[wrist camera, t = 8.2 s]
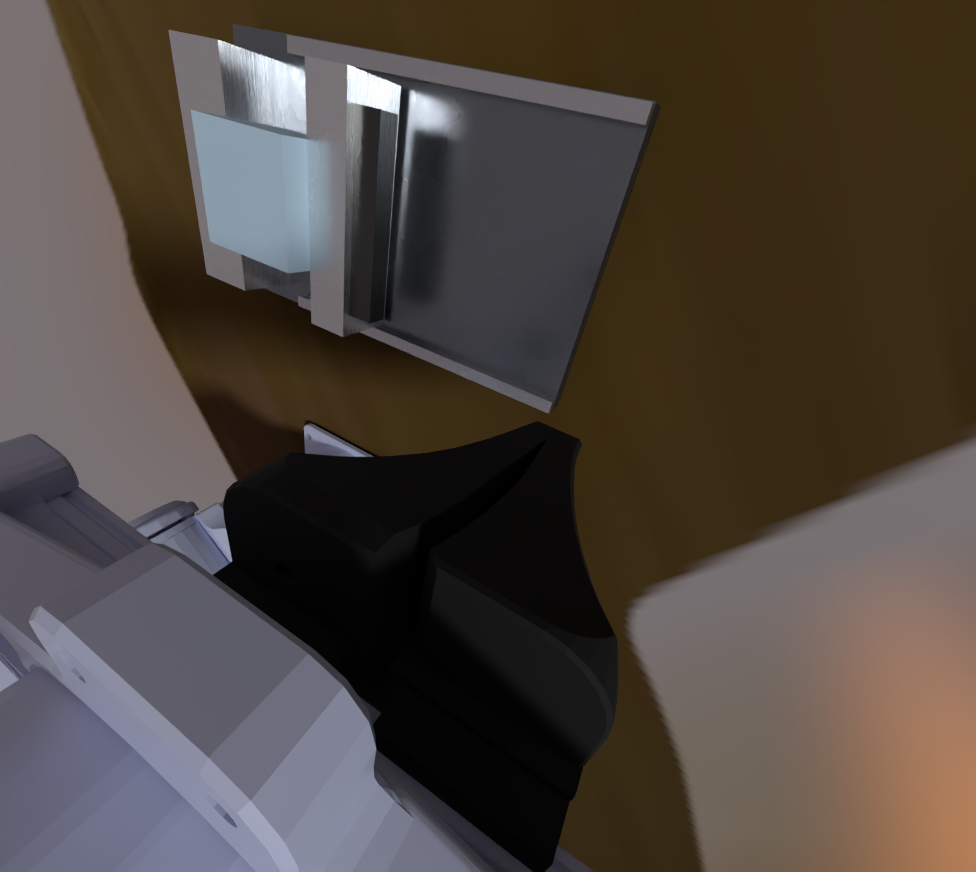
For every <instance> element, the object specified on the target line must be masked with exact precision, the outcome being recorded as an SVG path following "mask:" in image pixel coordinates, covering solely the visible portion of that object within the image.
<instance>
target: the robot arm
mask: <svg viewBox="0 0 976 872" xmlns="http://www.w3.org/2000/svg"><path fill="white" fill-rule="evenodd" d="M304 439H305V453H296V452H291V453H289V454H287V455H285V456H283V457H281V458H279V459H277V460H276V461H274V462H272V463H270V464H268V465H266V466H264V467H263V468H261V469H259V470H257V471H255V472H253V473H251V474H250V475H248V476H246V477H244V478H242V479H240V480H238V481H237V482H235V483H233V484H232V485H231V486H230V487H229V488H228V489H227V491H226V494H225V498H224V501H223V502H221V503H215V504H214V505H212V506H210V507H208V508H206V509H205V510H203V511H201V512H199V513H198V514H196V515H195V514H194V512H196V511H197V510H199V508H198V507H197V506H196V504H195V503H194V502H188V503H186V502H184V501H173V502H170V503H168V504H165V505H163V506H161V507H159V508H157V509H155V510H153V511H150V512H148V513H146V514H144V515H142V516H140V517H138V518H136V519H134V520H133V521H131V522H129V523H126V522H125V521H124V520H122V519H121V518H120V517H118V516H117V515H116V514H114V513H113V512H112V511H110V510H109V509H108V508H106V507H105V506H104V505H102V504H101V503H100V502H98V501H97V500H96V499H94V498H93V497H91V496H90V495H89V494H87V493H86V492H85V491H84V490H82V489H81V488H79V487H78V485H79V482H78V479H77V476H76V474H75V472H74V469H73V468H72V466H71V464H70V463H69V461H68V460H67V459H66V457H64V456H63V455H62V454H61V453H60V452H59V451H58V450H56V449H55V448H53V447H52V446H51V445H49V444H48V443H46V442H45V441H44V440H42V439H41V438H40V437H38V436H37V435H34V434H27V435H24V436H21V437H18V438H14V439H11V440H8V441H5V442H1V443H0V872H594V871H592V870H591V869H590V868H588V867H587V866H586V865H584V864H583V863H582V862H580V861H579V860H578V859H576V858H575V857H573V856H572V855H571V854H569V853H568V852H567V851H565V850H564V849H563V848H561V847H560V846H559V845H558V842H559V838H560V835H561V831H562V827H563V824H564V820H565V816H566V813H567V809H568V805H569V801H570V800H572V799H573V798H574V796H575V794H576V791H577V788H578V784H579V780H580V777H581V773H582V769H583V766H584V765H585V764H586V763H587V761H588V760H589V759H590V758H591V757H592V756H593V754H594V753H595V752H596V751H597V750H598V748H599V747H600V746H601V745H602V744H603V743H604V741H605V740H606V739H607V737H608V735H609V733H610V731H611V729H612V726H613V723H614V718H615V713H616V704H617V692H618V645H617V638H616V636H615V634H614V632H613V630H612V628H611V626H610V624H609V622H608V620H607V618H606V616H605V613H604V611H603V609H602V607H601V605H600V603H599V600H598V597H597V595H596V592H595V590H594V587H593V584H592V582H591V579H590V576H589V572H588V569H587V566H586V563H585V559H584V556H583V553H582V549H581V545H580V540H579V535H578V530H577V524H576V517H575V508H574V470H575V463H576V458H577V456H578V453H579V451H580V448H581V446H582V444H581V442H580V439H577V438H575V437H573V436H570V435H568V434H566V433H564V432H561V431H559V430H557V429H555V428H552V427H550V426H548V425H545V424H543V423H541V422H539V421H537V422H534V423H531V424H528V425H525V426H523V427H520V428H517V429H515V430H512V431H509V432H507V433H504V434H501V435H498V436H495V437H492V438H489V439H486V440H482V441H479V442H475V443H472V444H468V445H464V446H461V447H456V448H452V449H447V450H441V451H435V452H429V453H421V454H410V455H398V456H381V457H374V456H372V455H370V454H368V453H366V452H364V451H362V450H360V449H359V448H357V447H355V446H353V445H351V444H349V443H347V442H345V441H344V440H342V439H340V438H338V437H336V436H334V435H332V434H330V433H329V432H327V431H325V430H323V429H321V428H319V427H317V426H315V425H313V424H311V423H309V424H307V425H305V426H304Z"/></svg>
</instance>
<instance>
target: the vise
mask: <svg viewBox="0 0 976 872" xmlns="http://www.w3.org/2000/svg"><path fill="white" fill-rule="evenodd" d="M232 26H233V36H234V45H231V44H229V43H226V42H223V41H220V40H217V39H212V38H207V37H202V36H197V35H192V34H187V33H182V32H177V31H172V30H169V36H170V43H171V49H172V55H173V62H174V68H175V75H176V81H177V87H178V94H179V100H180V106H181V113H182V119H183V126H184V132H185V138H186V145H187V151H188V158H189V164H190V170H191V177H192V183H193V189H194V196H195V202H196V209H197V215H198V221H199V228H200V234H201V240H202V247H203V253H204V260H205V266H206V272H207V274H208V275H210V276H212V277H215V278H217V279H219V280H222V281H224V282H226V283H228V284H231V285H233V286H235V287H238V288H240V289H242V290H244V291H248V290H254V289H261V288H264V289H267V290H269V291H271V292H274V293H276V294H278V295H281V296H283V297H285V298H288V299H290V300H292V301H295V302H297V303H298V306H300V307H302V308H305V309H307V310H309V311H311V285H310V271H304V272H296V273H286V272H284V271H281V270H279V269H276V268H274V267H271V266H269V265H266V264H264V263H261V262H259V261H256V260H254V259H251V258H249V257H247V256H244V255H242V254H239V253H237V252H234V251H232V250H229V249H227V248H224V247H222V246H219V245H217V244H214V243H212V242H210V238H209V231H208V224H207V217H206V210H205V203H204V197H203V190H202V183H201V176H200V169H199V163H198V156H197V149H196V142H195V135H194V128H193V122H192V115H191V110H196V111H201V112H206V113H211V114H216V115H220V116H225V117H230V118H235V119H240V120H245V121H250V122H255V123H260V124H265V125H270V126H275V127H280V128H285V129H289V130H292V131H296V132H300V133H303V134H307V129H306V90H305V56H307V57H312V58H317V59H322V60H327V61H332V62H337V63H342V64H347V65H350V66H352V67H355V68H357V69H360V70H362V71H365V72H367V73H370V74H372V75H375V76H377V77H379V78H382V79H384V80H387V81H389V82H392V83H394V84H397V85H399V86H401V94H400V107H399V121H398V135H397V149H396V163H395V177H394V191H393V204H392V218H391V232H390V246H389V260H388V274H387V287H386V301H385V315H384V324H383V325H380V326H377V327H374V328H371V329H367V330H364V331H361V332H360V333H363V334H365V335H367V336H370V337H372V338H374V339H377V340H379V341H381V342H384V343H386V344H388V345H391V346H393V347H395V348H397V349H400V350H402V351H404V352H407V353H409V354H411V355H414V356H416V357H418V358H421V359H423V360H425V361H428V362H430V363H432V364H435V365H437V366H439V367H442V368H444V369H446V370H449V371H451V372H453V373H456V374H458V375H460V376H462V377H465V378H467V379H469V380H472V381H474V382H476V383H479V384H481V385H483V386H486V387H488V388H490V389H493V390H495V391H497V392H500V393H502V394H504V395H507V396H509V397H511V398H514V399H516V400H518V401H521V402H523V403H525V404H527V405H530V406H532V407H534V408H537V409H539V410H541V411H544V412H546V413H548V414H549V412H550V411H552V410H553V409H554V408H555V407H556V406H557V405H558V403H559V400H560V397H561V394H562V391H563V388H564V385H565V383H566V380H567V377H568V374H569V371H570V368H571V365H572V362H573V359H574V356H575V354H576V351H577V348H578V345H579V342H580V339H581V336H582V333H583V330H584V328H585V325H586V322H587V319H588V316H589V313H590V310H591V307H592V304H593V301H594V299H595V296H596V293H597V290H598V287H599V284H600V281H601V278H602V275H603V272H604V270H605V267H606V264H607V261H608V258H609V255H610V252H611V249H612V246H613V244H614V241H615V238H616V235H617V232H618V229H619V226H620V223H621V220H622V217H623V215H624V212H625V209H626V206H627V203H628V200H629V197H630V194H631V191H632V188H633V186H634V183H635V180H636V177H637V174H638V171H639V168H640V165H641V162H642V160H643V157H644V154H645V151H646V148H647V145H648V142H649V139H650V136H651V133H652V131H653V128H654V125H655V122H656V119H657V116H658V113H659V110H660V107H659V105H658V103H657V102H656V101H651V100H645V99H640V98H634V97H629V96H623V95H618V94H613V93H607V92H602V91H596V90H591V89H585V88H580V87H574V86H569V85H563V84H558V83H553V82H547V81H542V80H536V79H531V78H525V77H520V76H514V75H509V74H504V73H498V72H493V71H487V70H482V69H476V68H471V67H465V66H460V65H454V64H449V63H444V62H438V61H433V60H427V59H422V58H416V57H411V56H405V55H400V54H395V53H389V52H384V51H378V50H373V49H367V48H362V47H356V46H351V45H345V44H340V43H335V42H329V41H324V40H318V39H313V38H307V37H302V36H296V35H291V34H286V33H280V32H275V31H269V30H264V29H258V28H253V27H247V26H242V25H236V24H232Z"/></svg>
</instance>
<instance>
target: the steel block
mask: <svg viewBox="0 0 976 872" xmlns="http://www.w3.org/2000/svg"><path fill="white" fill-rule="evenodd" d="M191 115H192V122H193V128H194V135H195V142H196V149H197V156H198V163H199V169H200V176H201V183H202V190H203V197H204V203H205V210H206V217H207V224H208V231H209V238H210V242H212V243H214V244H217V245H219V246H222V247H224V248H227V249H229V250H232V251H234V252H237V253H239V254H242V255H244V256H247V257H249V258H251V259H254V260H256V261H259V262H261V263H264V264H266V265H269V266H271V267H274V268H276V269H279V270H281V271H284V272H286V273H296V272H304V271H310V245H309V206H308V167H307V134H303V133H300V132H296V131H292V130H289V129H285V128H280V127H275V126H270V125H265V124H260V123H255V122H250V121H245V120H240V119H235V118H230V117H225V116H220V115H216V114H211V113H206V112H201V111H196V110H191Z"/></svg>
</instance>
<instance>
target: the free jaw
mask: <svg viewBox="0 0 976 872" xmlns="http://www.w3.org/2000/svg"><path fill="white" fill-rule="evenodd" d="M305 90H306V129H307V167H308V206H309V245H310V285H311V323H312V324H314V325H317V326H319V327H321V328H323V329H326V330H328V331H330V332H332V333H335V334H337V335H339V336H342V337H345V336H348V335H351V334H355V333H358V332H361V331H364V330H367V329H371V328H374V327H377V326H380V325H383V324H384V315H385V301H386V287H387V274H388V260H389V246H390V232H391V218H392V204H393V191H394V177H395V163H396V149H397V135H398V121H399V107H400V94H401V86H399V85H397V84H394V83H392V82H389V81H387V80H384V79H382V78H379V77H377V76H375V75H372V74H370V73H367V72H365V71H362V70H360V69H357V68H355V67H352V66H350V65H347V64H342V63H337V62H332V61H327V60H322V59H317V58H312V57H307V56H305Z"/></svg>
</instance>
